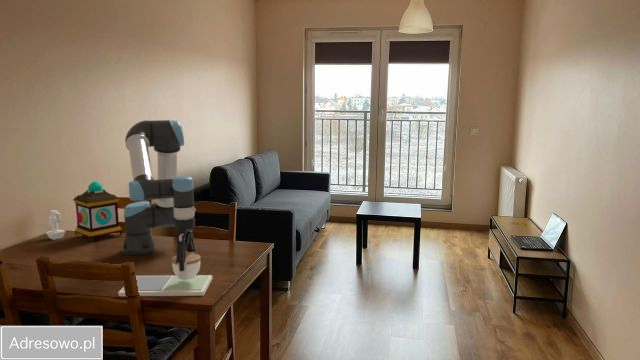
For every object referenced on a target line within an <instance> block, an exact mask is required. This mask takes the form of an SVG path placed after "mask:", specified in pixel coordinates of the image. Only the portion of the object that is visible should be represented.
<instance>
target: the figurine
mask: <svg viewBox="0 0 640 360" xmlns="http://www.w3.org/2000/svg"><path fill="white" fill-rule="evenodd" d="M47 221H48V226H50V227H51V230H49V231H45V232H44V233H45V234H46V235H47V237H48V238H49V239H50V240H53V241H55V240H60V239H63V238H64V235H65V234H66V230H63V229H59V223H60V222H61V213H60V212H58V210H57V209H56V210H54V209H53V210H50V214H49V216H48V220H47Z"/></svg>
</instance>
